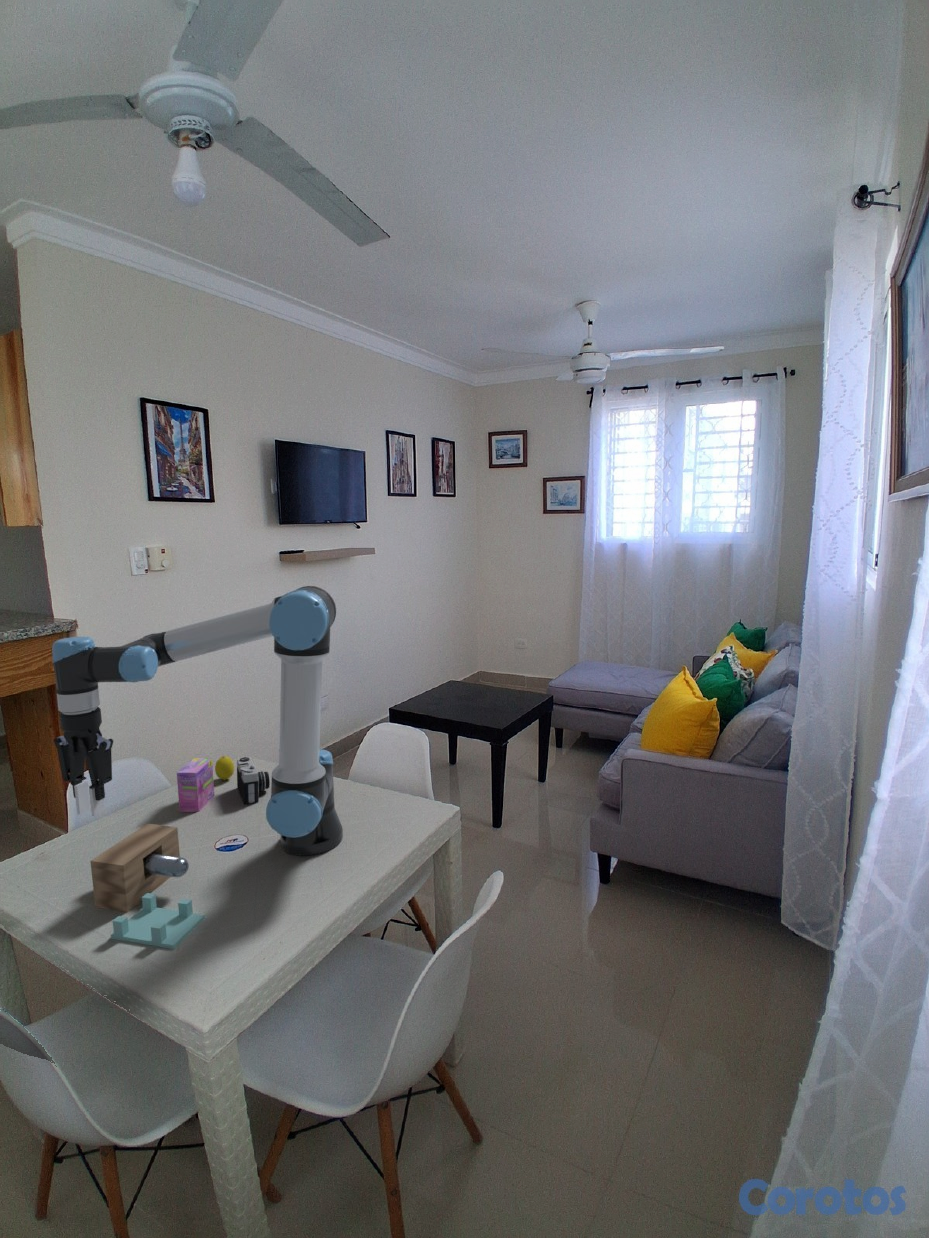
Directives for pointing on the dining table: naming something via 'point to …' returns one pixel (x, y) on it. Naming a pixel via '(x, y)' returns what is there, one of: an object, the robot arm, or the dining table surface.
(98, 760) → the robot arm
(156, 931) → the cradle
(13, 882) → the dining table surface
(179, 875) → the axle
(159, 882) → the beam
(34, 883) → the dining table surface
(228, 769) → the lemon
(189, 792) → the box
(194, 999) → the dining table surface
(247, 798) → the camera
